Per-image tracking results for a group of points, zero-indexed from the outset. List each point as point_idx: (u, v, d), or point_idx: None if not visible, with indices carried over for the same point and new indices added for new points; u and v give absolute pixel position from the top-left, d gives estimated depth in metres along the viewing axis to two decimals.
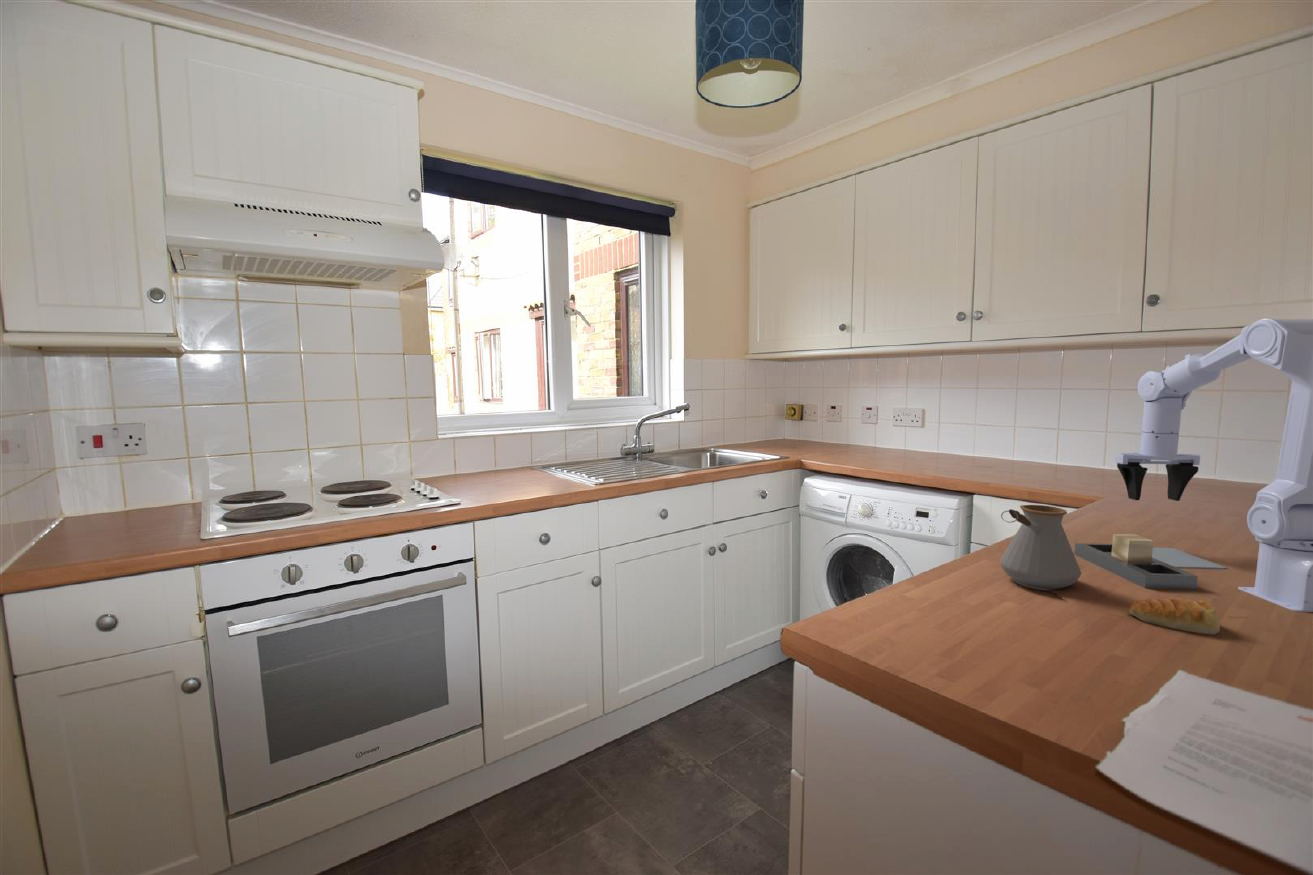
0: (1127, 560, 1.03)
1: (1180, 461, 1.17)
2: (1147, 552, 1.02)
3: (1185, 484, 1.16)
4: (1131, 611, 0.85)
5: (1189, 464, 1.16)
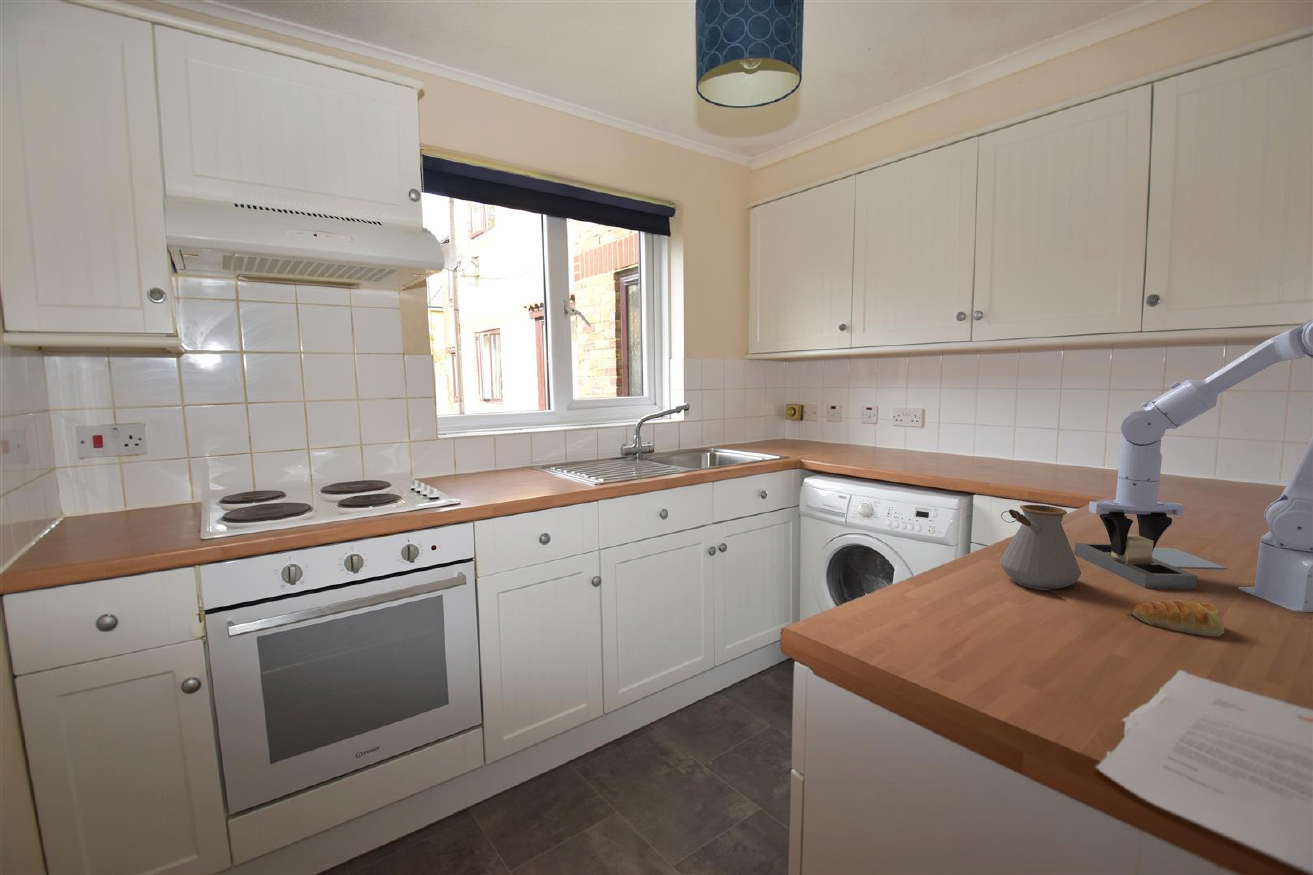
0: (1127, 560, 1.03)
1: (1161, 511, 1.03)
2: (1147, 552, 1.02)
3: (1157, 537, 1.02)
4: (1135, 613, 0.85)
5: (1162, 514, 1.03)
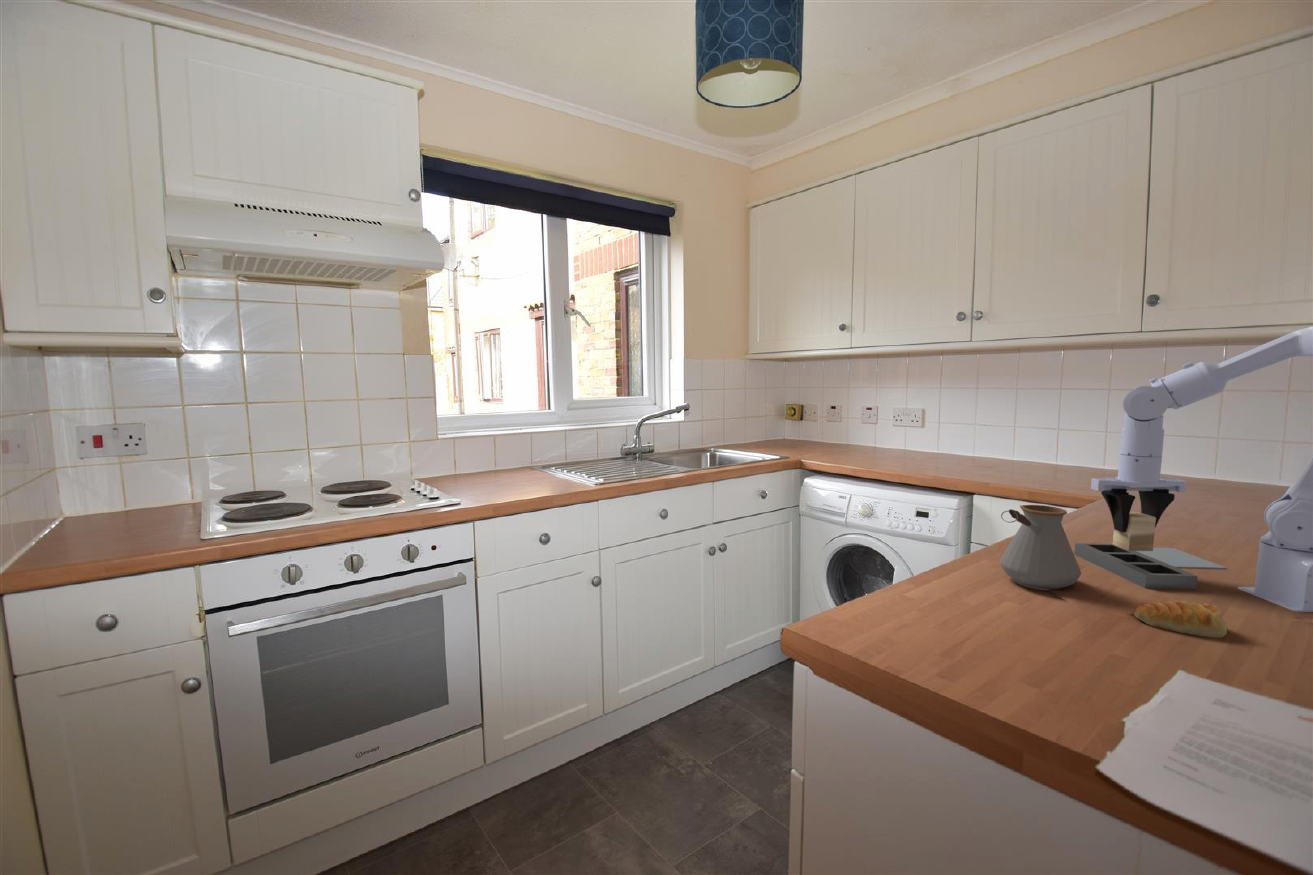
0: (1129, 537, 1.02)
1: (1163, 487, 1.03)
2: (1149, 529, 1.02)
3: (1160, 514, 1.02)
4: (1137, 615, 0.84)
5: (1164, 491, 1.02)
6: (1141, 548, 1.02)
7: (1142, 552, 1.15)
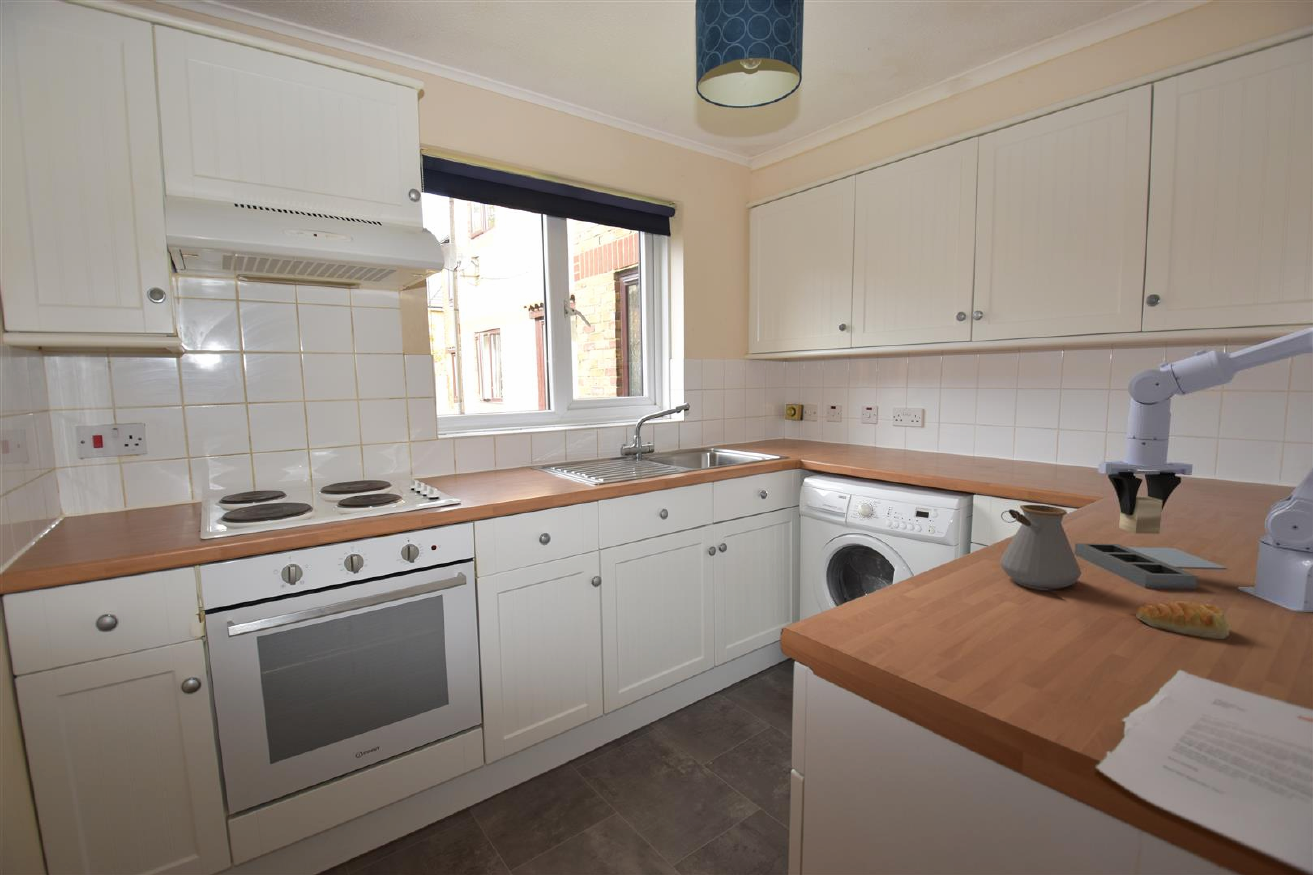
0: (1136, 520, 1.03)
1: (1170, 471, 1.03)
2: (1156, 512, 1.03)
3: (1166, 497, 1.02)
4: (1139, 616, 0.84)
5: (1171, 474, 1.03)
6: (1148, 531, 1.03)
7: (1142, 552, 1.15)
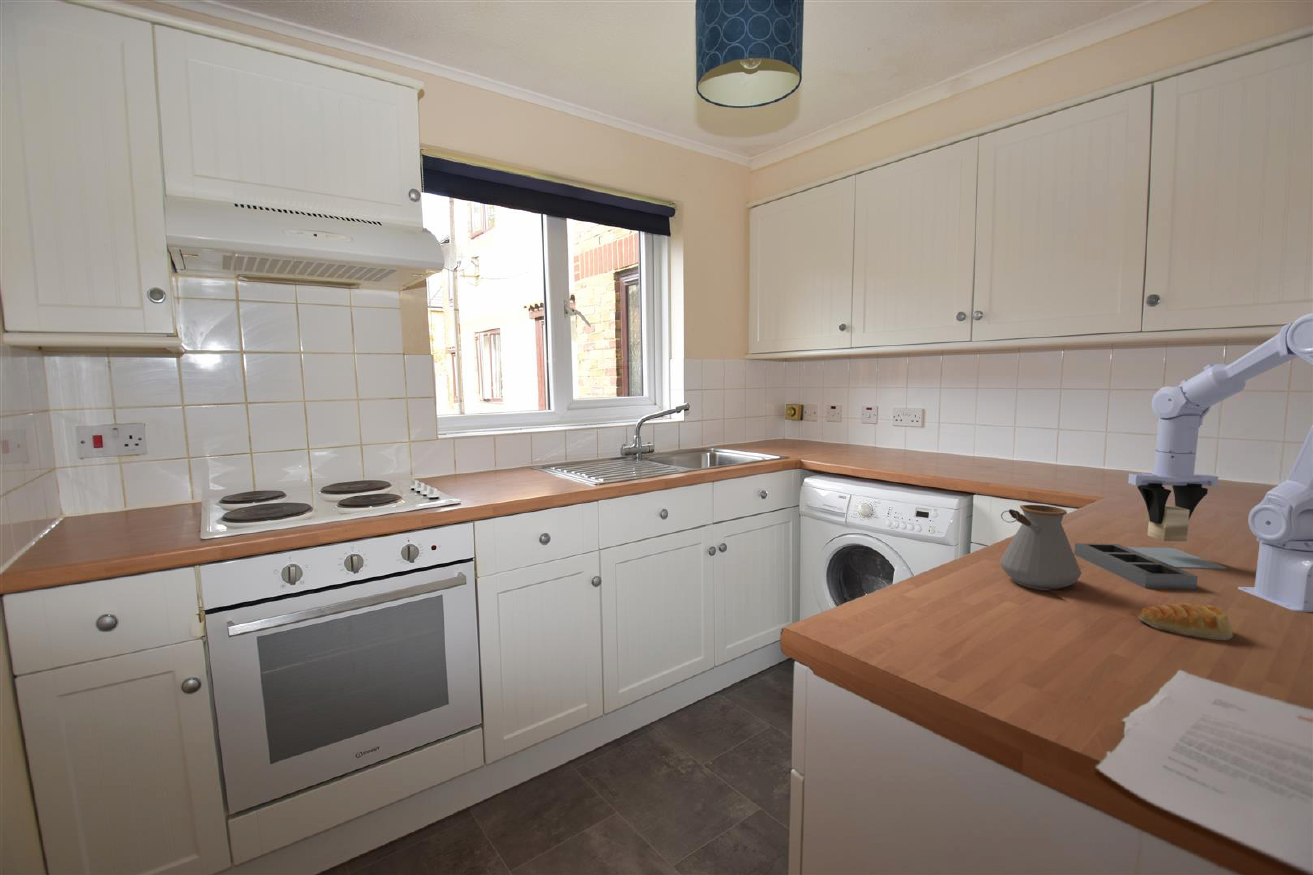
0: (1164, 528, 1.10)
1: (1197, 482, 1.10)
2: (1183, 521, 1.09)
3: (1193, 507, 1.09)
4: (1142, 618, 0.83)
5: (1198, 485, 1.09)
6: (1175, 538, 1.10)
7: (1142, 552, 1.15)
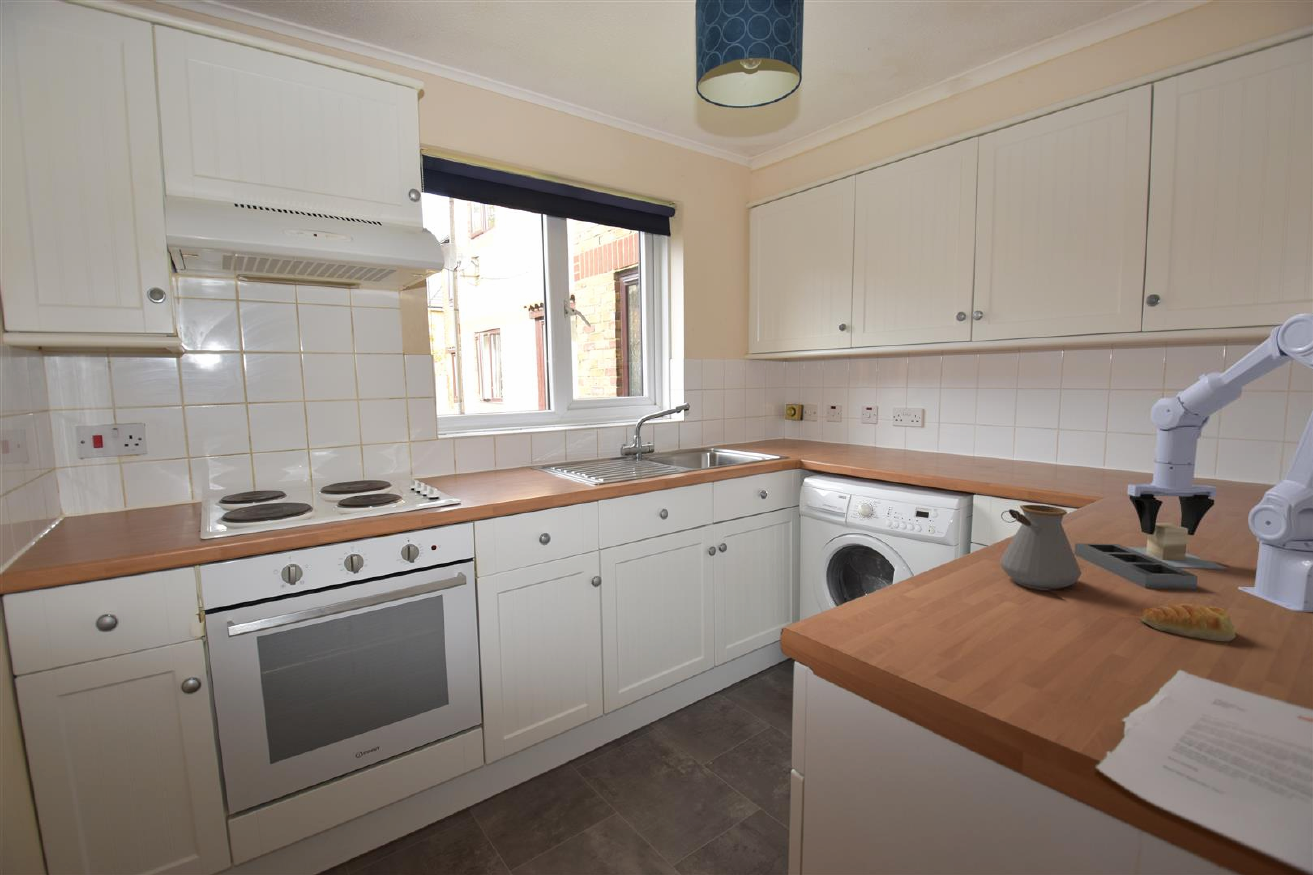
0: (1163, 547, 1.10)
1: (1196, 493, 1.10)
2: (1182, 540, 1.09)
3: (1200, 518, 1.09)
4: (1144, 619, 0.83)
5: (1204, 496, 1.09)
6: (1174, 557, 1.10)
7: (1142, 552, 1.15)
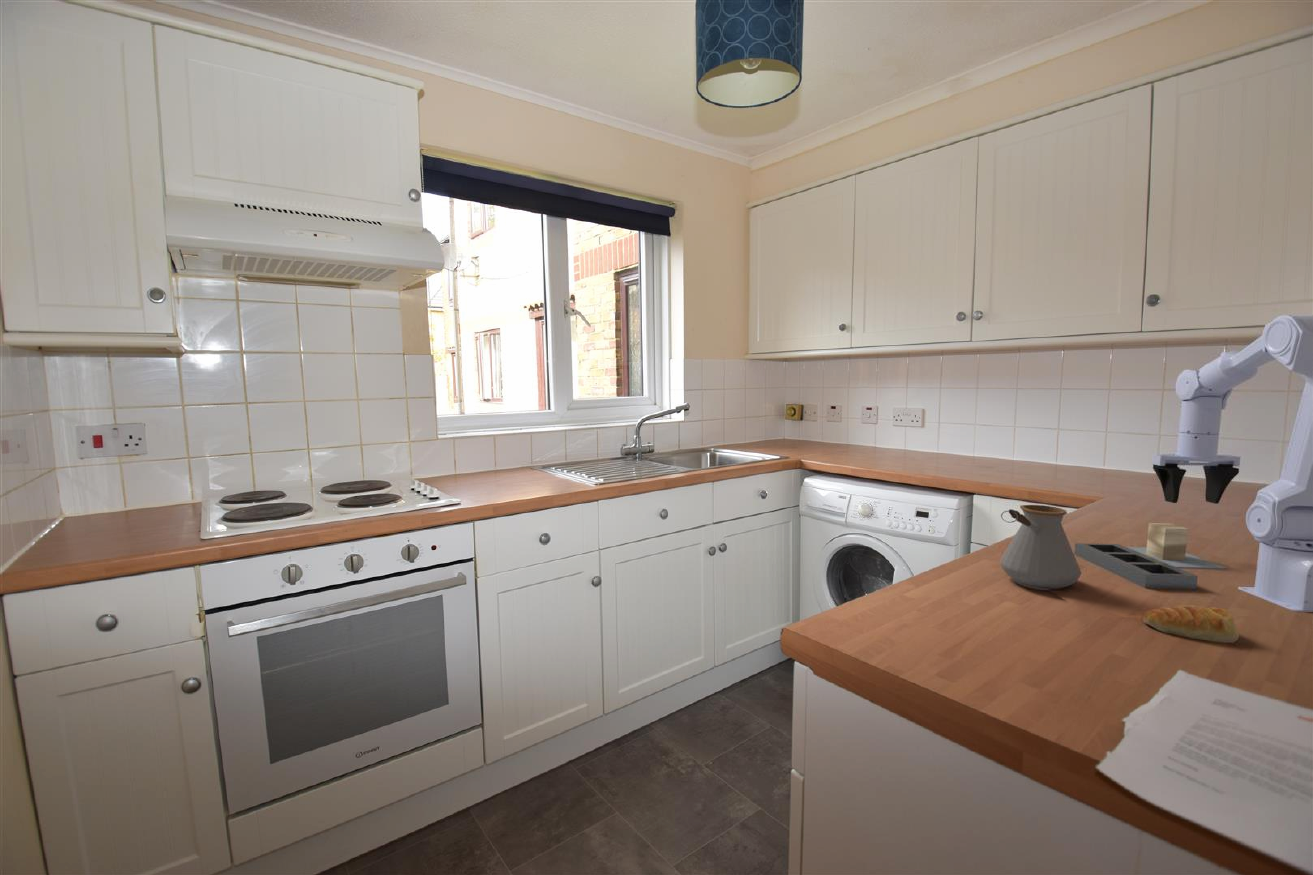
0: (1163, 547, 1.10)
1: (1219, 462, 1.13)
2: (1182, 540, 1.09)
3: (1225, 486, 1.12)
4: (1147, 621, 0.82)
5: (1229, 465, 1.12)
6: (1174, 557, 1.10)
7: (1142, 552, 1.15)
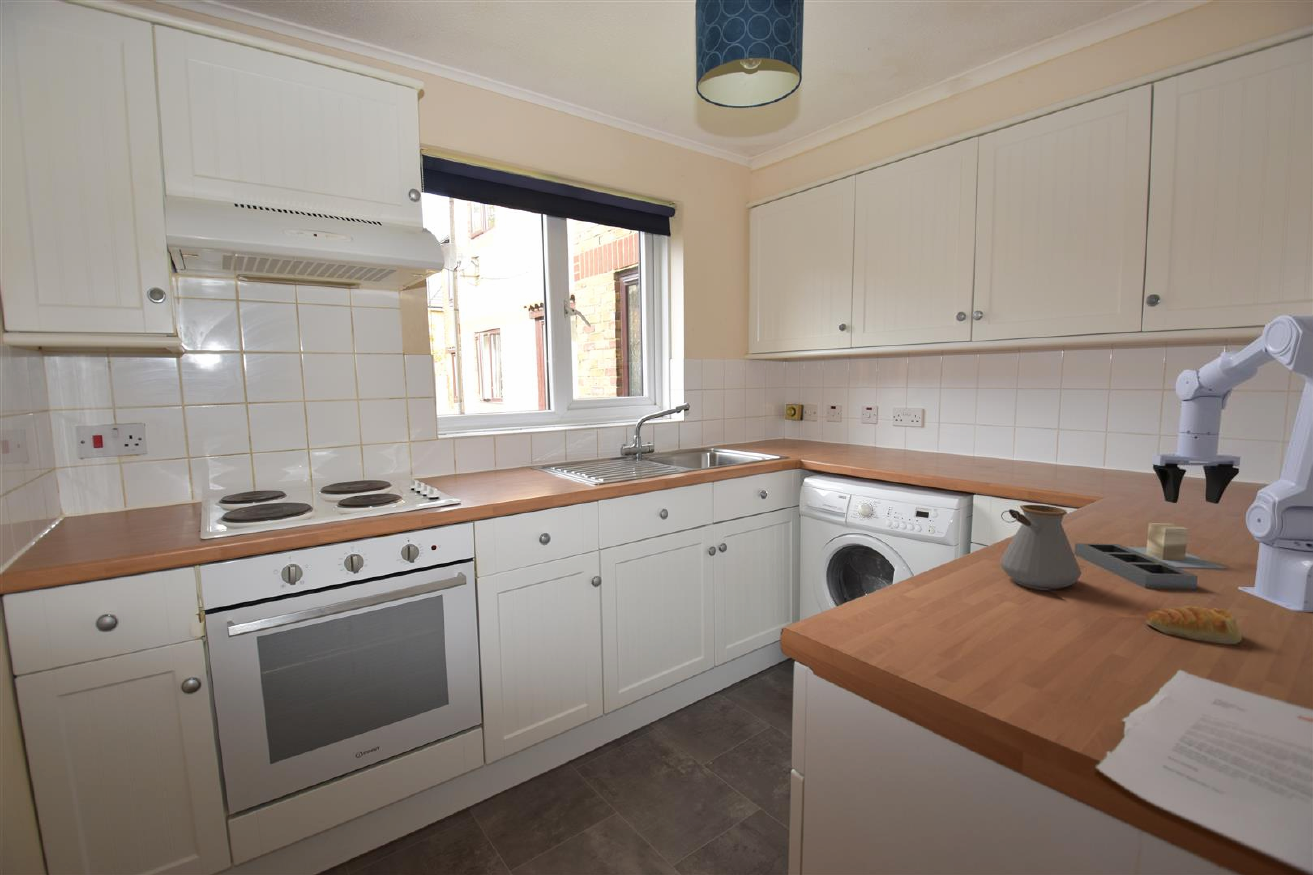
0: (1163, 547, 1.10)
1: (1219, 462, 1.13)
2: (1182, 540, 1.09)
3: (1225, 486, 1.12)
4: (1149, 622, 0.82)
5: (1229, 465, 1.12)
6: (1174, 557, 1.10)
7: (1142, 552, 1.15)
